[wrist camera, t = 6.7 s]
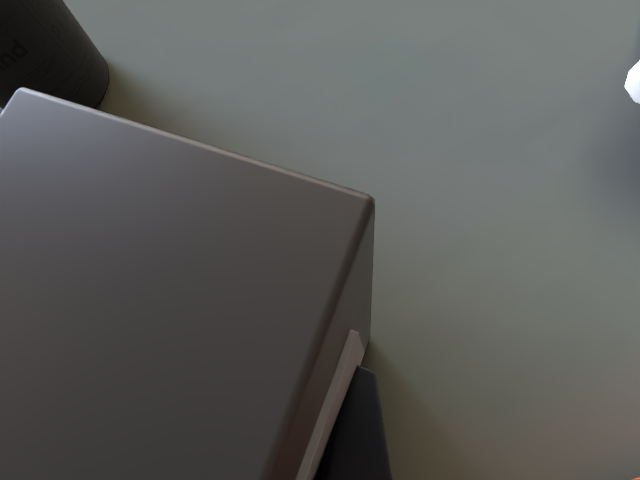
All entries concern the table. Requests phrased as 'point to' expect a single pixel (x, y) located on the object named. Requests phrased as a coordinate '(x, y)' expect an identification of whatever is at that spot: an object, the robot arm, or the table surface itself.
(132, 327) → the remote
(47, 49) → the drinking cup
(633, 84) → the bunny figurine
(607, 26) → the table surface
